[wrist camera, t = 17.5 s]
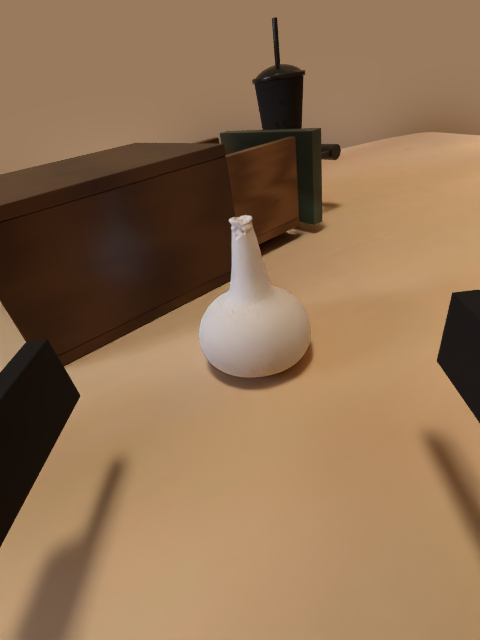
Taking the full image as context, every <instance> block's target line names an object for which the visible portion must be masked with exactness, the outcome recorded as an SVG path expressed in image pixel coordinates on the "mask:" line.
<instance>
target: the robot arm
mask: <svg viewBox="0 0 480 640" xmlns="http://www.w3.org/2000/svg"><path fill="white" fill-rule="evenodd" d="M437 362H438V363H439V365H440V366H441V368H442V369H443V371H444V372H445V373H446V375H447V376H448V378H449V379H450V381H451V382H452V384H453V385H454V386H455V388H456V389H457V391H458V392H459V394H460V395H461V397H462V398H463V399H464V401H465V402H466V404H467V405H468V407H469V408H470V410H471V411H472V412H473V414H474V415H475V417H476V418H477V420H478V421H479V423H480V290H472V291H463V292H454V293H452V297H451V301H450V305H449V310H448V314H447V318H446V323H445V327H444V332H443V336H442V340H441V345H440V349H439V354H438V358H437ZM79 398H80V394H79V392H78V391H77V389H76V387H75V385H74V384H73V382H72V380H71V379H70V377H69V375H68V373H67V372H66V370H65V368H64V366H63V365H62V363H61V361H60V360H59V358H58V356H57V354H56V353H55V351H54V349H53V347H52V346H51V344H50V342H49V341H48V339H45V340H37V341H28V342H26V343H25V344H24V345H23V347H22V348H21V349H20V350H19V351H18V352H17V354H16V355H15V356H14V357H13V358H12V359H11V361H10V362H9V363H8V364H7V365H6V367H5V368H4V369H3V370H2V371H1V372H0V547H1V545H2V543H3V541H4V539H5V537H6V535H7V533H8V531H9V530H10V528H11V526H12V524H13V522H14V520H15V518H16V516H17V514H18V513H19V511H20V509H21V507H22V505H23V503H24V501H25V499H26V497H27V496H28V494H29V492H30V490H31V488H32V486H33V484H34V482H35V481H36V479H37V477H38V475H39V473H40V471H41V469H42V467H43V465H44V464H45V462H46V460H47V458H48V456H49V454H50V452H51V450H52V448H53V447H54V445H55V443H56V441H57V439H58V437H59V435H60V433H61V431H62V430H63V428H64V426H65V424H66V422H67V420H68V418H69V416H70V415H71V413H72V411H73V409H74V407H75V405H76V403H77V401H78V399H79Z"/></svg>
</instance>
